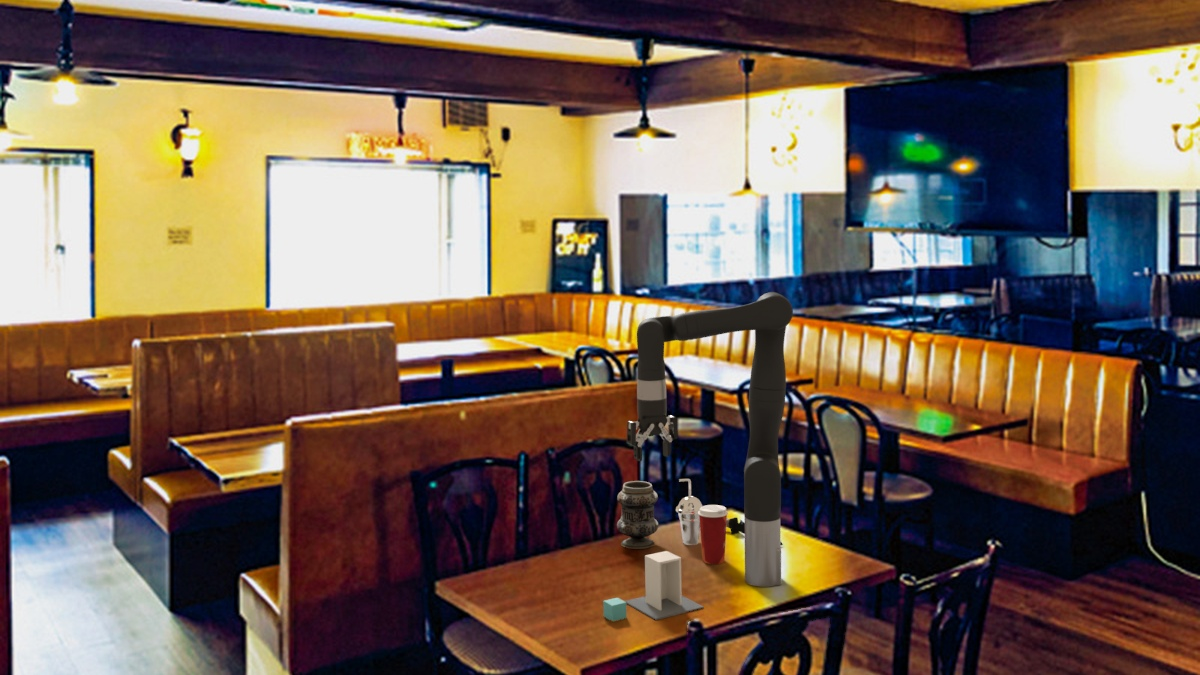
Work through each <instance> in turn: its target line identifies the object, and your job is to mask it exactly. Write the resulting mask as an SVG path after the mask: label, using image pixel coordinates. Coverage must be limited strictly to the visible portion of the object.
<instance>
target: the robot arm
mask: <svg viewBox="0 0 1200 675" xmlns="http://www.w3.org/2000/svg"><path fill="white" fill-rule="evenodd" d="M793 315H794V310H793V306H792V304H791V302H790V300H789V299H787V298H786V297H785V296H784V295H782V294H780V293H778V292H775V291H770V292H767V293H763V294H762V295H761V296H759V297H758V299H757V300H756V301H754V302H751V303H747V304H744V305H738V306H732V307H721V308H711V309H709V308H708V309H701V310H694V311H693V310H692V311H689V312H682V313H680V314H679V313H678V314H676V315H675V314H674V315H665V316H664V315H663V316H655V317H654V316H653V317H649V318H645V319H644V320H642V321H641V322H640V323H639V324H638V325H637V326H638V327H637V331H636V346H637V357H638V360H637V385H636V399H637V400H636V401H637V403H636V404H637V405H636V408H637V409H636V410H637V416H638V418H637V420H636V421H631V420H628V421H627V424H626V444H628V445H631V446H632V447H633V458H634V459H635V460H636V461H637V462H642V461H643V446H642V445H643V444H644V442H645V441H646V440H647V439H648V437H654V436H660V437H661V439H662V440H663V441H662V455H663V457H665V458H666V457H667V458H669V457H670V456H671V455H672V441H675V440H677V439H678V438H679V432H678V431H679V429H678V418H677V416H674V415H671V414H670V415H668V416H667V411H668V410H667V408H668V407H667V406H668V404H667V384H666V365H665V364H666V363H665V343H668V342H674V341H678V342H683V341H684V342H686V341H692V340H699V339H704V338H708V337H714V336H718V335H723V334H728V333H735V332H743V331H744V332H745V331H754V336H755V337H754V338H755V341H754V343H755V344H754V351H753V356H752V364H751V370H750V371H751V372H750V379H749V381H750V382H749V390H748V420H749V422H748V423H749V441H748V448H747V452H746V454H747V455H746V459H745V463H744V468H743V472H744V473H743V479H744V480H743V483H744V484H743V485H744V486H743V488H744V489H743V490H744V491H743V492H744V493H743V494H744V496H743V497H744V500H743V501H744V502H743V504H744V508H743V511H744V513H743V514H744V515H743V516H744V523H745V534H744V581H745V583H747V584H748V585H750V586H753V587H763V588H764V587H765V588H766V587H775V586H781V585H782V548H781V546H782V545H780V541H781V510H782V509H781V507H782V499H781V498H782V482H781V481H782V477H781V475H782V474H781V469H780V463H779V462H780V461H779V434H780V430H781V429H780V428H781V425H782V420H783V416H784V411H785V406H786V405H785V404H786V394H787V393H786V390H787V389H786V388H787V374H786V362H785V361H786V360H785V354H784V348H785V347H784V344H785V336H786V329H787V326H788V325H789V324H790V322H791V321H792V319H793ZM667 425H668V426H667ZM666 426H667V428H668V430H667V428H666ZM638 428H639V429H638ZM637 430H638V431H637Z"/></svg>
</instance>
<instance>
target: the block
mask: <svg viewBox="0 0 1200 675" xmlns="http://www.w3.org/2000/svg"><path fill="white" fill-rule="evenodd" d="M625 601H626V600H623V599H621V598H620V597H613V598H609V599H606V600H603V601H602V603H603V612H602V613H603V617H604V618H605V617H606V618H605V619H607V620H608V621H610V620H612V621H613V622H616V621H615V620H617V621H620V619H621V620H624V618H625V619H627V604H626V602H625ZM612 621H611V622H612Z"/></svg>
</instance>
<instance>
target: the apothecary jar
mask: <svg viewBox="0 0 1200 675" xmlns="http://www.w3.org/2000/svg"><path fill="white" fill-rule="evenodd" d="M658 499H659V497H658V493H657V492H656V491H655V490H654V489H653V485H652V483H650V482H649V481H648V482H647V481H641V480H634V481H633V480H630V481H627V482H624V483H623V485H622V490H621V491H620V492H618V494H617V498H616V500H617V502H618V503H619V504H620V505H621V515H620V519H619V520H618V521H617V523H616V528H617V530H618V531H619V533H621V534H622V535H624V536H626V537H627V536H628V538H626V539H624V540H622V541H621V542H620V545H621V547H623V548H625V547H626V548H625V549H629V550H643V549H644V550H645V549H650V548H652V547H654V546H655V545H656V543H655V541H654V540H653V539H650V538H648V537H649V536H652V535H653V534H655V533H656V532H657V531H658V528H659V522H658V521H657V519H655V504H657V502H658Z"/></svg>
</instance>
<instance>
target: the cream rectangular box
mask: <svg viewBox="0 0 1200 675" xmlns="http://www.w3.org/2000/svg"><path fill="white" fill-rule="evenodd" d="M644 577H645V578H644V580H645V582H644V584H645V586H644V587H645V596H646V603H648V604H649V605H651V606H653V607H655V608H656V609H658V610H662V607H661V600H662V599H666V598H667V599H669V600H671V601H673V602H674V603H676V604H678V605H682V596H683V595H682V594H683V593H682V591H683V590H682V557H681V556H679V555H677V554H674V553H672V552H671V551H668V550H664V551H659V552H655V553H651V554H646V555H644Z"/></svg>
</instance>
